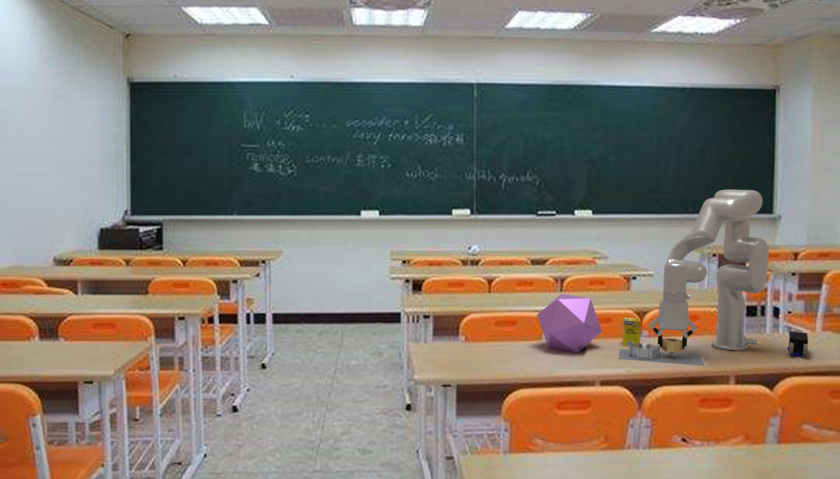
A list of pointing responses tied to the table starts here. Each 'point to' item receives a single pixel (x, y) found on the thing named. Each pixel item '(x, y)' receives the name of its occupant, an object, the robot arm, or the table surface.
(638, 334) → the supplement box
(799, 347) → the figurine character
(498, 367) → the table surface
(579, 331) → the icosahedron
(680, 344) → the bronze gear
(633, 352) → the steel gear
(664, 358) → the gear board
